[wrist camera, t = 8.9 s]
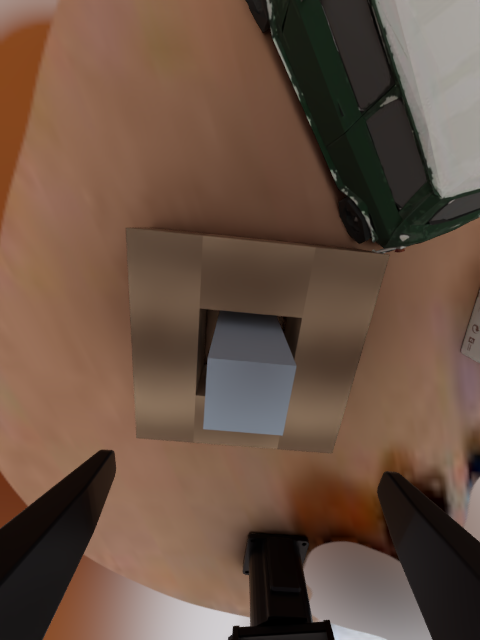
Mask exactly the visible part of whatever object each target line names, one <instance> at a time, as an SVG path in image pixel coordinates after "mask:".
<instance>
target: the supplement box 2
mask: <svg viewBox="0 0 480 640" xmlns="http://www.w3.org/2000/svg"><path fill="white" fill-rule="evenodd" d="M461 353H463V354H464V355H466V356H468V357H470V358H471V359H473V360H475V361H477V362H478V363H480V290H479V294H478V297H477V300H476V303H475V306H474V309H473V312H472V316H471V319H470V322H469V325H468V328H467V332H466V335H465V338H464V341H463V345H462V348H461Z"/></svg>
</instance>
